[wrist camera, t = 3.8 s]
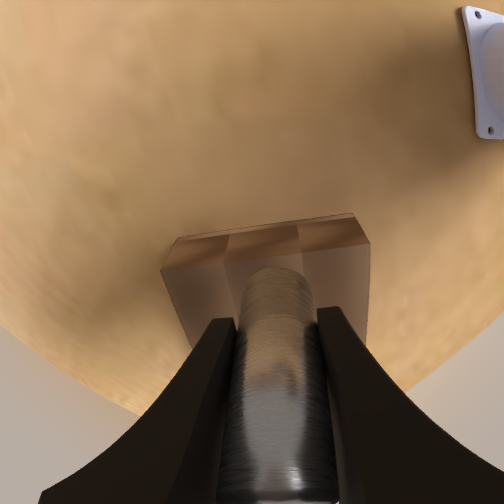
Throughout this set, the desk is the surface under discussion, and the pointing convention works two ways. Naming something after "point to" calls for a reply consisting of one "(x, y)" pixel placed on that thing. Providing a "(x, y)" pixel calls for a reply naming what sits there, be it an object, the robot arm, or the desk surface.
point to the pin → (278, 400)
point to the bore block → (268, 256)
